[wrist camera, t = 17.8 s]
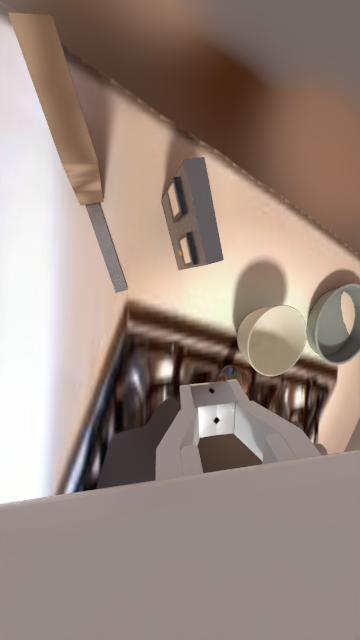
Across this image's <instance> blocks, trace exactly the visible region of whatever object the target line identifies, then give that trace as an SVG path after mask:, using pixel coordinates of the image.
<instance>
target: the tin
mask: <svg viewBox="0 0 360 640" xmlns="http://www.w3.org/2000/svg"><path fill="white" fill-rule="evenodd" d="M233 379H236V380H237V381H238V382H239V384H240V386H241V387H242V389H243V391H244V392H245V394H246V392H247V389H248V378H247V375H246V373H245V372H244V371H243V370H242V369H241V368H239V367H236V366H234V365H227V366H225V367H224V368H223V369H222V370H221V371H220V373H219V376H218V378H217V381H216V382H220V381H226V380H233Z"/></svg>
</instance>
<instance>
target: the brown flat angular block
mask: <svg viewBox="0 0 360 640" xmlns="http://www.w3.org/2000/svg"><path fill="white" fill-rule="evenodd" d="M8 14H9V17H10V20H11V23H12V25H13V28H14V31H15V34H16V36H17V39H18V42H19V45H20V48H21V50H22V53H23V56H24V59H25V62H26V64H27V67H28V70H29V73H30V76H31V78H32V81H33V84H34V87H35V90H36V92H37V95H38V98H39V101H40V104H41V106H42V109H43V112H44V115H45V117H46V120H47V123H48V126H49V129H50V131H51V134H52V137H53V140H54V143H55V145H56V148H57V151H58V154H59V157H60V159H61V162H62V165H63V167H64V169H65V172H66V174H67V176H68V178H69V181H70V183H71V185H72V187H73V190H74V192H75V194H76V196H77V198H78V201H79V203H80V205H86V204H92V203H98V202H103V195H102V188H101V181H100V174H99V167H98V160H97V157H96V154H95V150H94V147H93V144H92V141H91V138H90V135H89V131H88V128H87V125H86V122H85V119H84V116H83V112H82V109H81V106H80V103H79V100H78V96H77V93H76V90H75V87H74V84H73V81H72V77H71V74H70V71H69V68H68V65H67V62H66V58H65V55H64V52H63V49H62V46H61V42H60V39H59V36H58V33H57V30H56V27H55V24H54V20H53V18H52V16H51V15H36V14H21V13H8Z"/></svg>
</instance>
